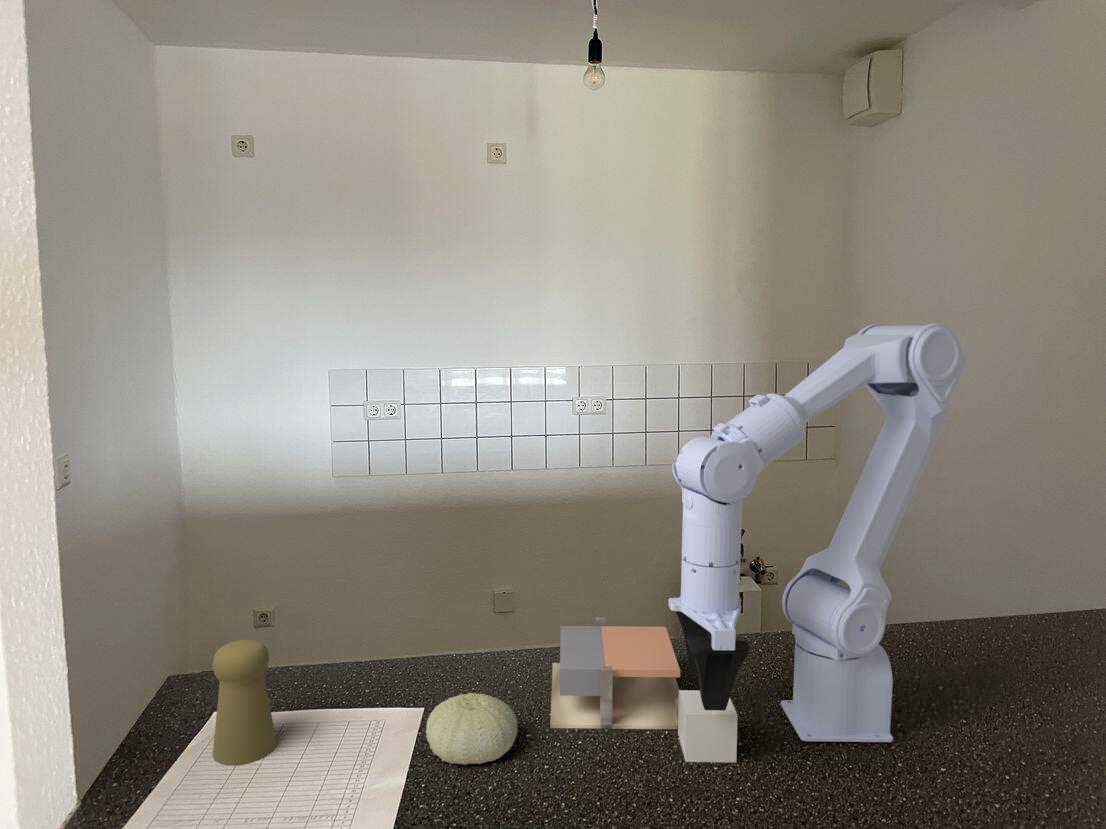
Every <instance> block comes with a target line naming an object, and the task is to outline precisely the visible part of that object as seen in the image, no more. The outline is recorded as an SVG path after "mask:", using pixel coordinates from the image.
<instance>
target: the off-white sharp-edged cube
mask: <svg viewBox="0 0 1106 829" xmlns="http://www.w3.org/2000/svg"><path fill="white" fill-rule="evenodd" d="M738 719H739V718H738V713H737V711H736V709H735V706H734V704H733V700H732V699H731V697H730V698H729V701H728V705H727V707H726V710H704V707H703V704H702V700H701V695H700V689H699V690H697V689H696V690H693V689H692V690H691V689H690V690H688V689H685V690H684V689H683V690H682V689H679V708H678V729H677V736H679V737H678V740H679V744H680V747H681V751H682V753H683V754H682V755H683V757H684V761H685V762H686V763H737V753H738V752H737V748H738V747H737V746H738Z"/></svg>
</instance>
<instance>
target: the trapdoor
mask: <svg viewBox="0 0 1106 829" xmlns="http://www.w3.org/2000/svg"><path fill="white" fill-rule="evenodd" d="M559 641H560V644H559V646H560V647H559V648H560V650H559V663H560V696H601V666H612V670H613V674H612V677H675V678H681V668H680V666H679V663H678V660H677V657H676V654H675V651H674V648H673V645H672V642H671V638H670V636H669V633H668V630H667V628H666V626H629V625H627V626H621V625H620V626H617V625H616V626H615V625H614V626H612V625H611V626H610V625H609V626H596V625H592V626H591V625H560V640H559Z"/></svg>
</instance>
